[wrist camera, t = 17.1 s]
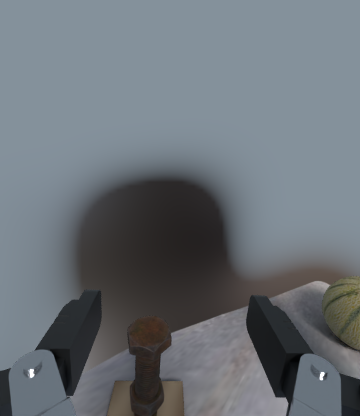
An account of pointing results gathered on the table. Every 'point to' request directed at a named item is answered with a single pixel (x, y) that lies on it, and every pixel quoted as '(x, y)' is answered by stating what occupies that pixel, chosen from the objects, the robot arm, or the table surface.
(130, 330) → the bolt
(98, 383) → the table surface
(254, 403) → the table surface
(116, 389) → the tan pad
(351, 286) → the cantaloupe
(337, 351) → the table surface
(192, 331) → the table surface
